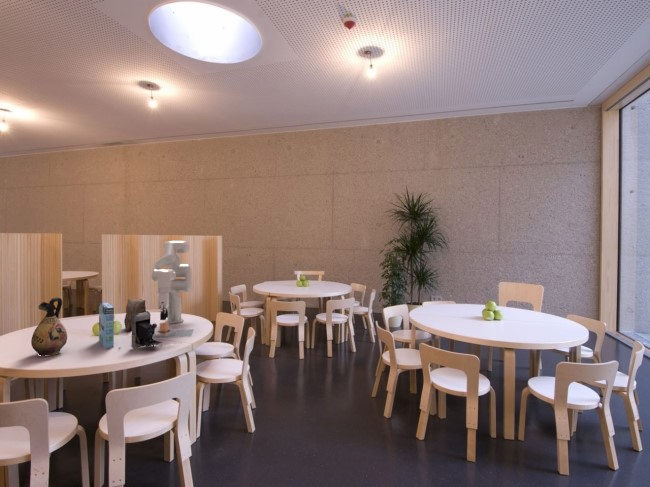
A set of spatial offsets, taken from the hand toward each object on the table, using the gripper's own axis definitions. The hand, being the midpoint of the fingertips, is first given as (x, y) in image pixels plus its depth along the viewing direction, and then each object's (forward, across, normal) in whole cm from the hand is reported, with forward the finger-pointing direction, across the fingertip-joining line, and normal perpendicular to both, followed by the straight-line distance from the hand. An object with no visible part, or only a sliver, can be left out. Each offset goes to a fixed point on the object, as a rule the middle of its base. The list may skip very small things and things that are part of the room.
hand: (164, 318), depth 230 cm
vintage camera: (+12, +23, -5) cm, 26 cm away
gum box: (+12, +9, -30) cm, 33 cm away
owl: (+12, -24, -24) cm, 36 cm away
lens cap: (+10, 0, 0) cm, 10 cm away
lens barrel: (+10, 0, 0) cm, 10 cm away
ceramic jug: (+12, +21, -53) cm, 58 cm away
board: (+12, 0, +5) cm, 13 cm away
